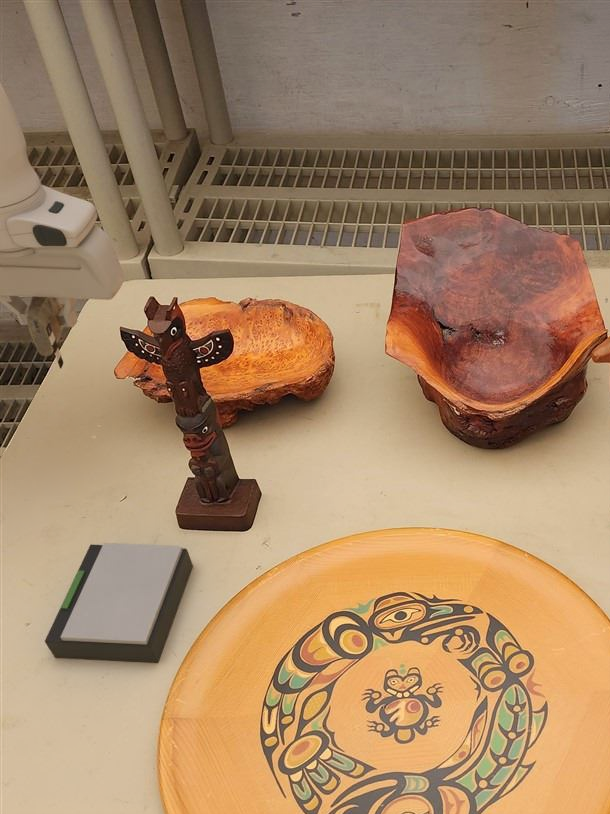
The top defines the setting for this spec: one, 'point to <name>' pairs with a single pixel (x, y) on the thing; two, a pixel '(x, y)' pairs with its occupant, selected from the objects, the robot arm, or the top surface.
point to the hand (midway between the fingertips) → (50, 323)
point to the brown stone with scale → (45, 325)
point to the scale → (121, 603)
